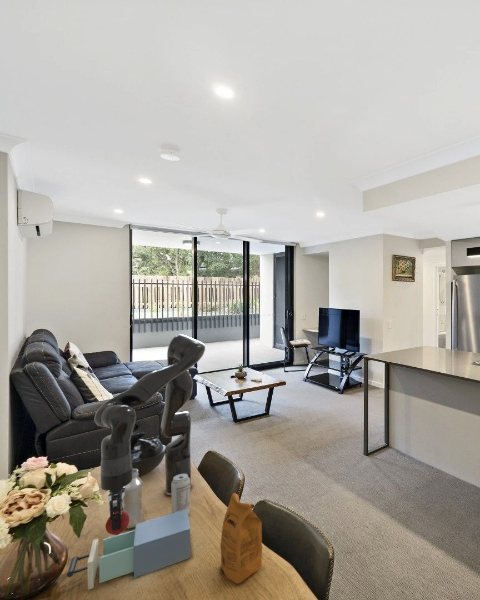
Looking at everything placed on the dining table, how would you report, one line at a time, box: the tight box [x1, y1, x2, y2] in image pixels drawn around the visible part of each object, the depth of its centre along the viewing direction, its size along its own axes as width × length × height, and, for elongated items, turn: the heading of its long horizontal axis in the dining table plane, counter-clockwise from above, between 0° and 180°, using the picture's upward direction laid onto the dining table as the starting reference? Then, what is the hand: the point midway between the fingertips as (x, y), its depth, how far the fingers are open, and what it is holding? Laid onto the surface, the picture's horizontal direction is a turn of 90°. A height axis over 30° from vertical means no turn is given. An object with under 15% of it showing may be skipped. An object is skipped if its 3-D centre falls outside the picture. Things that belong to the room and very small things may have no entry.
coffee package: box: [219, 492, 263, 585], centre depth 111 cm, size 10×12×22 cm
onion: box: [104, 511, 130, 536], centre depth 110 cm, size 6×6×8 cm
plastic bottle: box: [123, 469, 145, 529], centre depth 132 cm, size 6×7×20 cm
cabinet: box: [133, 509, 191, 578], centre depth 117 cm, size 15×13×10 cm
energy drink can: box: [171, 474, 191, 515], centre depth 138 cm, size 6×6×15 cm
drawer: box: [66, 529, 135, 591], centre depth 110 cm, size 18×11×8 cm, turn 124°
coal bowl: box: [130, 431, 166, 477], centre depth 169 cm, size 20×20×19 cm
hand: (117, 523), depth 110 cm, fingers closed on onion, 6 cm apart
